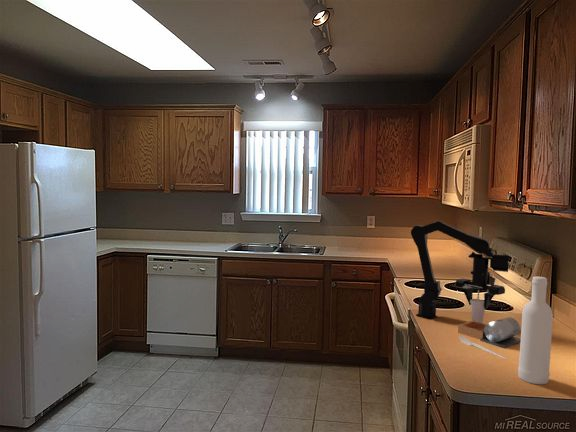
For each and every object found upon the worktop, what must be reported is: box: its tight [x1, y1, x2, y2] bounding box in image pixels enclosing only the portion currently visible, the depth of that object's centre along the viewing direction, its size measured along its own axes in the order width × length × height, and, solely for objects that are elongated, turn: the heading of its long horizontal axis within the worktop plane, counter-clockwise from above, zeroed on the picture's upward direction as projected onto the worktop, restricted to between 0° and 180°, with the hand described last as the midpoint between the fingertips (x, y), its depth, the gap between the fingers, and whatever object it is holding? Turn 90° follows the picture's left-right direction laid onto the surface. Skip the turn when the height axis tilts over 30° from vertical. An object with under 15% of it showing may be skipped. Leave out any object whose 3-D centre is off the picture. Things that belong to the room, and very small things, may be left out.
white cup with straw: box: [470, 289, 486, 323], centre depth 186 cm, size 6×6×14 cm
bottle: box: [517, 275, 554, 385], centre depth 132 cm, size 8×8×30 cm
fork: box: [458, 334, 508, 360], centre depth 157 cm, size 3×20×2 cm, turn 25°
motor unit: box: [457, 316, 521, 349], centre depth 169 cm, size 19×13×8 cm
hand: (478, 307), depth 186 cm, fingers closed on white cup with straw, 6 cm apart
